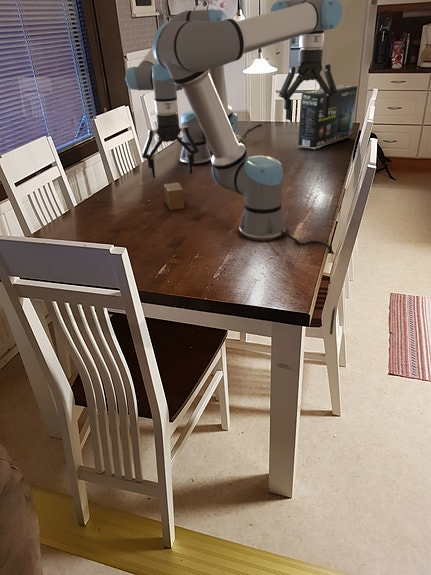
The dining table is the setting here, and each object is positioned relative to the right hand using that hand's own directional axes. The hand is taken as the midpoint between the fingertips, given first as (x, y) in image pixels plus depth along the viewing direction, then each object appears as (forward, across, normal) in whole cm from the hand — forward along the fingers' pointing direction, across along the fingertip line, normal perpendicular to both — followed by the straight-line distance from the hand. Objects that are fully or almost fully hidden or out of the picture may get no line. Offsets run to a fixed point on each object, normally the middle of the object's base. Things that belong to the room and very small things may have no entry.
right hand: (306, 117), depth 159 cm
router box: (+30, +47, +73) cm, 92 cm away
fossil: (+30, -2, +94) cm, 98 cm away
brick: (+30, -47, +11) cm, 56 cm away
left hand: (+18, -47, +11) cm, 51 cm away
